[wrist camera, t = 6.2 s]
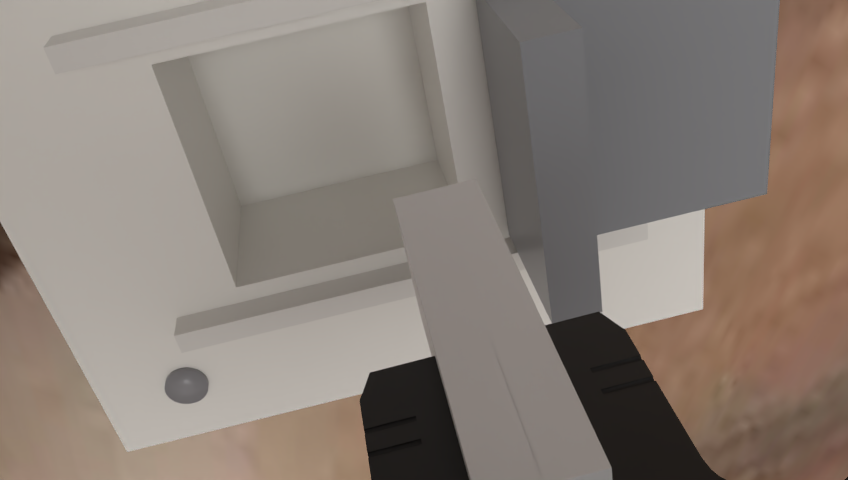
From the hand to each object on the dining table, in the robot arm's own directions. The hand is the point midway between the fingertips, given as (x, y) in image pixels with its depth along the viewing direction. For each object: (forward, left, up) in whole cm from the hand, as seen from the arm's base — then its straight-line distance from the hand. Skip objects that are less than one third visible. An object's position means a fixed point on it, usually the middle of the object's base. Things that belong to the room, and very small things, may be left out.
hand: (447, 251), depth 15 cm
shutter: (+1, +6, -6) cm, 8 cm away
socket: (+1, -2, -11) cm, 11 cm away
